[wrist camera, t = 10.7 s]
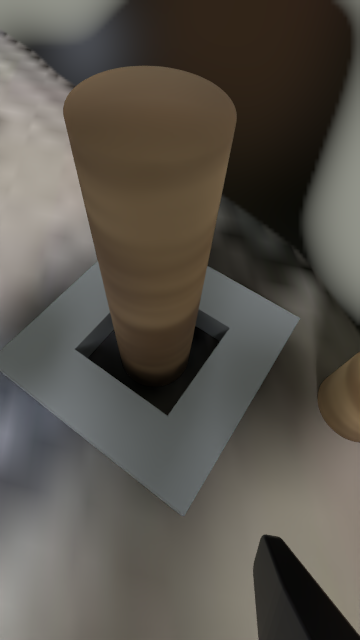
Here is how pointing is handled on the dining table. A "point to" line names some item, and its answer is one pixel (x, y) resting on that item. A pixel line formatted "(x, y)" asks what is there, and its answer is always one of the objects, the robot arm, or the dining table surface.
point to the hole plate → (131, 409)
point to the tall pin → (151, 202)
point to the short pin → (342, 399)
